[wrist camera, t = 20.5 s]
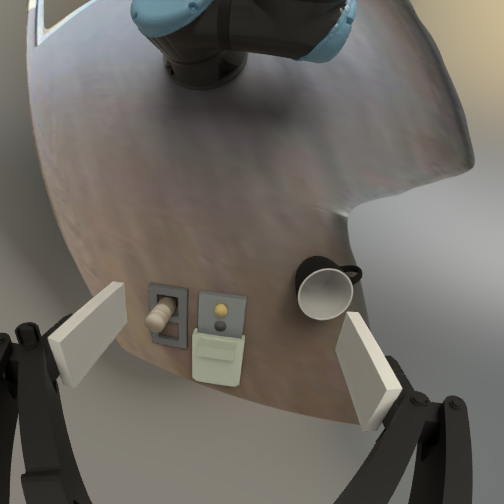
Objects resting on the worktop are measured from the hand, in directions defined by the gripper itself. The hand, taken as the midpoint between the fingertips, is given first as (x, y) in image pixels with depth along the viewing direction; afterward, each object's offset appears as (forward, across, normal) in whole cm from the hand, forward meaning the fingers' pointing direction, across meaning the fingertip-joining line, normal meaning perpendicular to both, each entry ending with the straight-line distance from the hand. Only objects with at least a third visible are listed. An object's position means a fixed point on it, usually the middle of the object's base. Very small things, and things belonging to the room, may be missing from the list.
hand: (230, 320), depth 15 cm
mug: (+35, +14, -8) cm, 38 cm away
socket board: (+35, -15, -22) cm, 44 cm away
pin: (+35, -15, -19) cm, 42 cm away
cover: (+33, -4, -29) cm, 44 cm away
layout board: (+35, -4, -21) cm, 41 cm away
